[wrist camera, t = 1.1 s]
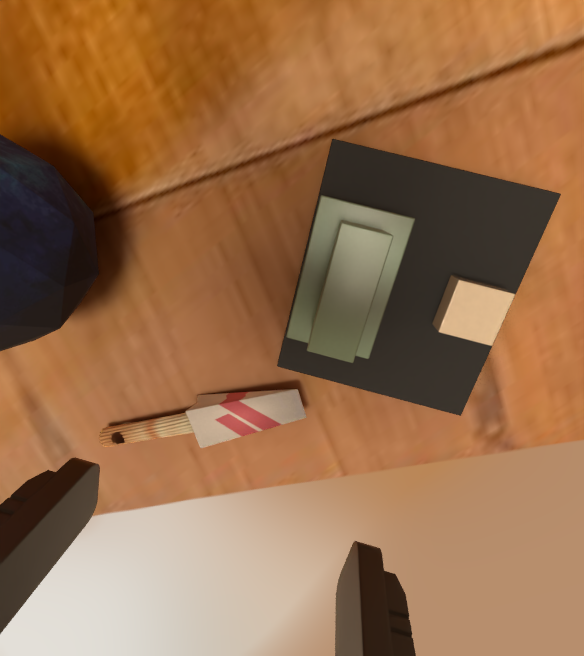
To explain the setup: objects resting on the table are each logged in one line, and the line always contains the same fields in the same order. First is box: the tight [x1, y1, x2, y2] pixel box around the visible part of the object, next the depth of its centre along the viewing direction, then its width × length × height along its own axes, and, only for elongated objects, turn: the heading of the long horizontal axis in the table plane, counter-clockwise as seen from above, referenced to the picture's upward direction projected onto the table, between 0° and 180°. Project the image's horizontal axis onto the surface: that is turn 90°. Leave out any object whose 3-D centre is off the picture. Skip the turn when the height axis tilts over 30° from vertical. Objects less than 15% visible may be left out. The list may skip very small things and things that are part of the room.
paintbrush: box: [99, 389, 306, 448], centre depth 34 cm, size 4×3×20 cm
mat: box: [277, 139, 561, 416], centre depth 29 cm, size 18×16×1 cm
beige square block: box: [432, 275, 515, 346], centre depth 27 cm, size 4×4×2 cm
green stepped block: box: [286, 195, 415, 363], centre depth 25 cm, size 10×6×7 cm, turn 167°
